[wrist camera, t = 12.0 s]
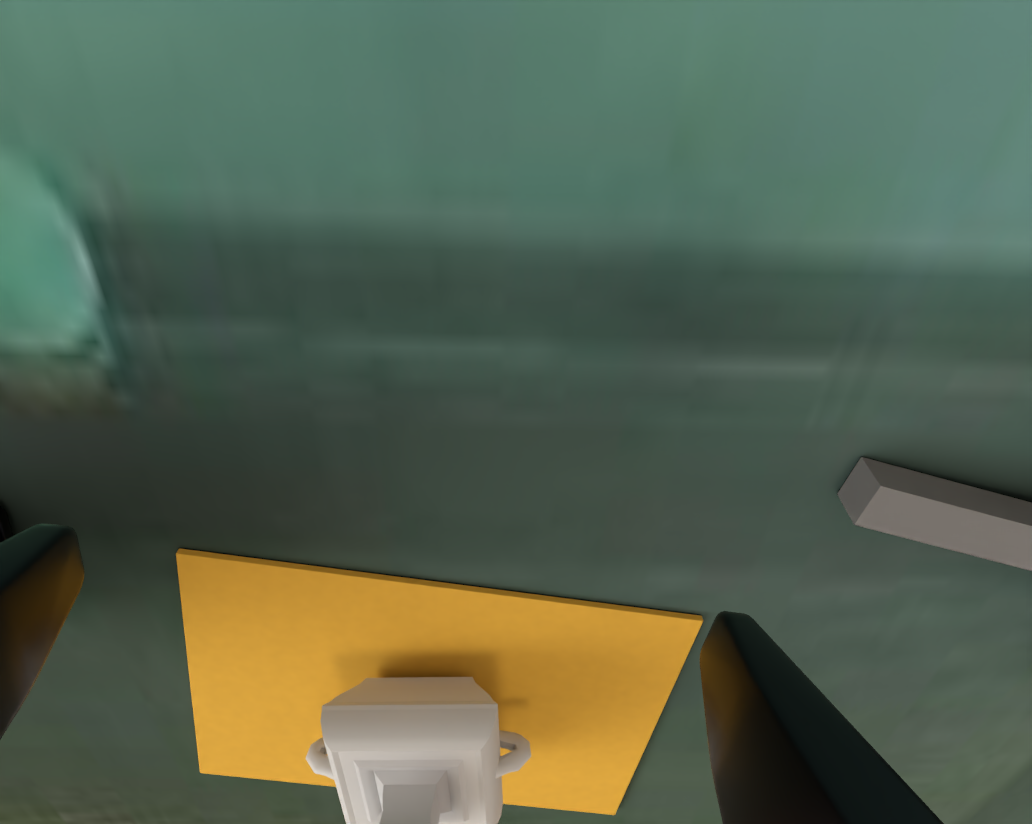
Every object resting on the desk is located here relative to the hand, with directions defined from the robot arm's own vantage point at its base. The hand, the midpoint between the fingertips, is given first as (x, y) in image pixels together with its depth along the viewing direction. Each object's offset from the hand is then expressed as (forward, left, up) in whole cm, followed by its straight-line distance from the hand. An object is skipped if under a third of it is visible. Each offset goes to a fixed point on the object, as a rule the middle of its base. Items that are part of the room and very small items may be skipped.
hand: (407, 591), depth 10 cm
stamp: (+1, -19, -12) cm, 22 cm away
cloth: (+1, -19, -12) cm, 22 cm away
